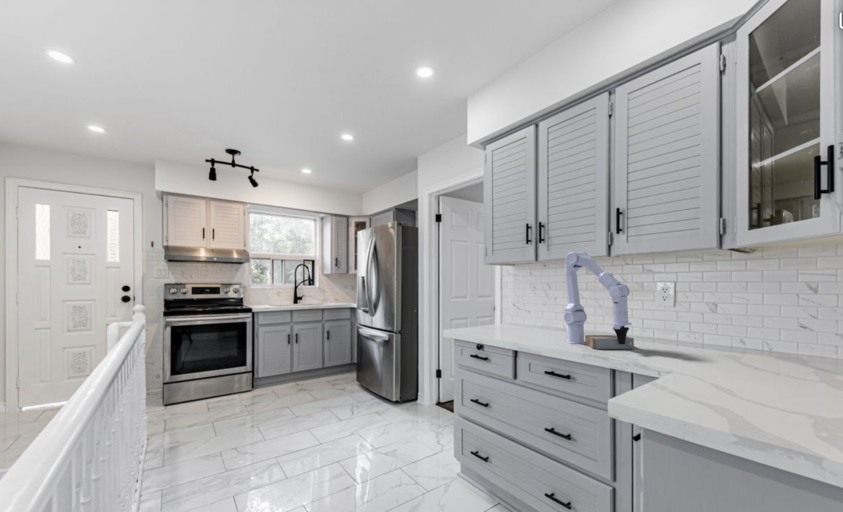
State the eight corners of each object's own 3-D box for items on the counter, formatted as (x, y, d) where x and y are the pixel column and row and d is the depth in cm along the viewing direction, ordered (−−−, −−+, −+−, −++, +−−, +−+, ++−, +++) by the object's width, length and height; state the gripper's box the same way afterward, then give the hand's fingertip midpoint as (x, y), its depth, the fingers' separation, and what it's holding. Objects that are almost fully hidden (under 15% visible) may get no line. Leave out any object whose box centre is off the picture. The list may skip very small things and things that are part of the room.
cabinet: (585, 345, 170) (585, 335, 170) (623, 344, 168) (623, 335, 168) (592, 348, 161) (592, 338, 161) (633, 348, 159) (632, 338, 160)
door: (593, 348, 161) (592, 338, 161) (632, 348, 159) (632, 337, 159) (595, 349, 159) (594, 338, 159) (635, 349, 157) (634, 338, 157)
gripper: (627, 314, 150) (628, 347, 149) (634, 311, 161) (635, 342, 160) (608, 313, 155) (610, 345, 154) (616, 310, 166) (618, 341, 165)
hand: (622, 344), depth 157 cm, fingers closed, pressing on door
